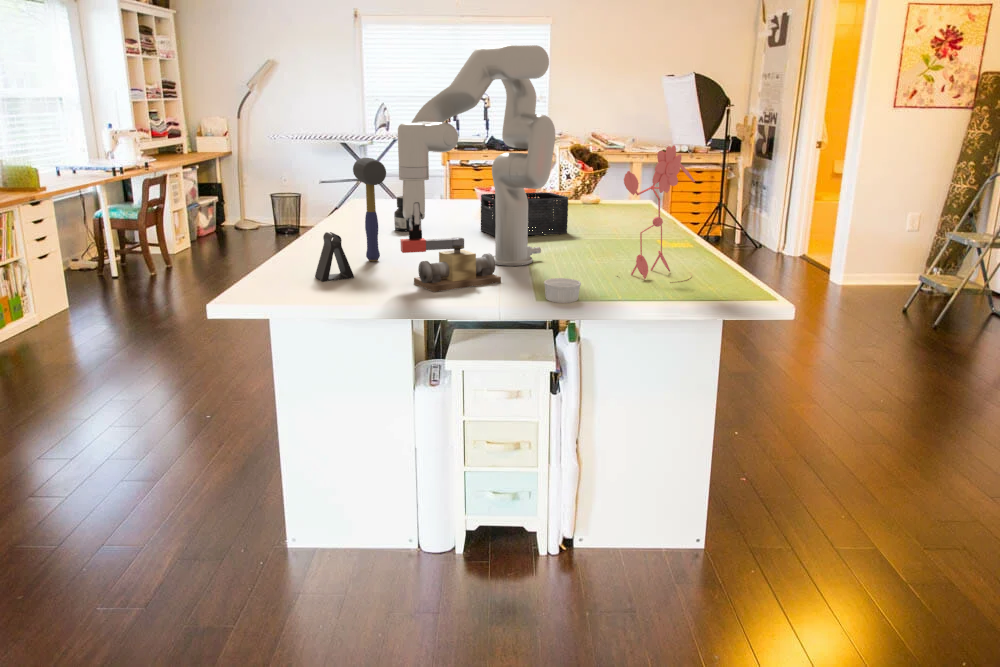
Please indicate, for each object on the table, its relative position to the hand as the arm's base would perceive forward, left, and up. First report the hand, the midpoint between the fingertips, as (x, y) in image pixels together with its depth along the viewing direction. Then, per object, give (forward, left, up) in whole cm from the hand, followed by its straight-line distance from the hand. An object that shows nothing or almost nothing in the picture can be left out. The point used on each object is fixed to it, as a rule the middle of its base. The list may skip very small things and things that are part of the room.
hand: (415, 245), depth 200 cm
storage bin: (-70, -52, -10) cm, 88 cm away
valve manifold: (-9, +6, -10) cm, 15 cm away
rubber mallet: (-2, -32, -10) cm, 33 cm away
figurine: (-60, +29, -10) cm, 67 cm away
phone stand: (+16, -17, -10) cm, 25 cm away
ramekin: (-22, +34, -10) cm, 42 cm away
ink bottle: (-36, -78, -10) cm, 86 cm away
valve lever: (-3, +4, -1) cm, 5 cm away
